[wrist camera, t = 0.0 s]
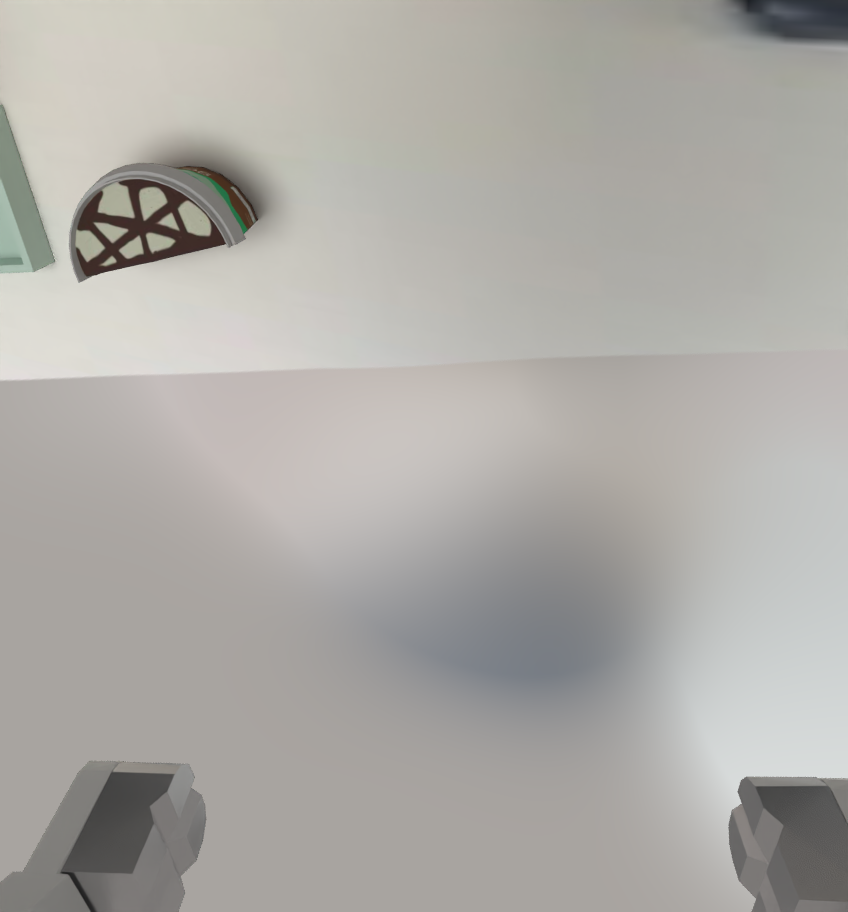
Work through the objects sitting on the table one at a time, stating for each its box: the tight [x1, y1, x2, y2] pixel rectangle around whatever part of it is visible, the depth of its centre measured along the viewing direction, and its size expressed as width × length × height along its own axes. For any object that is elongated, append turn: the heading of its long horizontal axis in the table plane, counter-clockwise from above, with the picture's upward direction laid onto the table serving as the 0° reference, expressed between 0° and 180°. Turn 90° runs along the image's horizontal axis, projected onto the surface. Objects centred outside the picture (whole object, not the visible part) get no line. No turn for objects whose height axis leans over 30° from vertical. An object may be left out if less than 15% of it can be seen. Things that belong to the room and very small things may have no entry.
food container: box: [69, 163, 258, 283], centre depth 48 cm, size 12×6×10 cm, turn 103°
